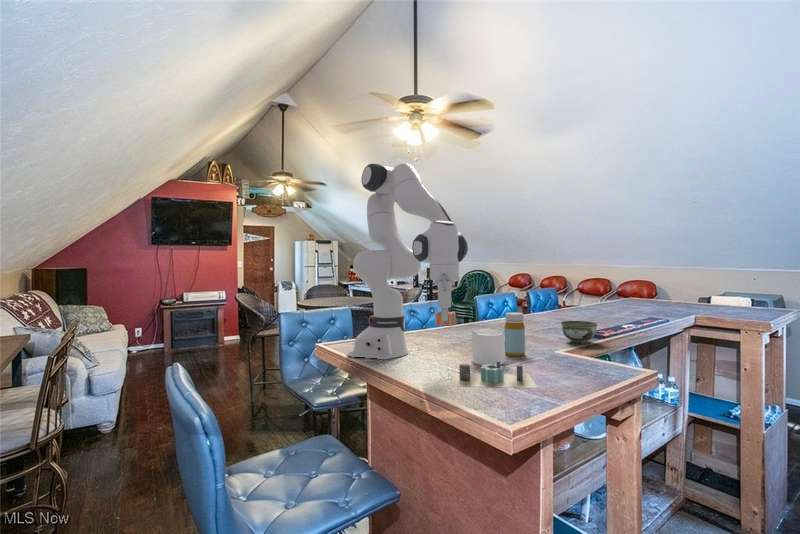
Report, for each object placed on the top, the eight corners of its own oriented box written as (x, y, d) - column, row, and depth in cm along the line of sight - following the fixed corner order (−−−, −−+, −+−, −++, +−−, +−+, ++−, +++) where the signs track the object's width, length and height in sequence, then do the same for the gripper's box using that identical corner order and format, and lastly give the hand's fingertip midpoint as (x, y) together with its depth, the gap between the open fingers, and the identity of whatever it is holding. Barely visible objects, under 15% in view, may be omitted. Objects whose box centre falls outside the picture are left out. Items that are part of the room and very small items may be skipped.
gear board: (452, 390, 104) (452, 371, 103) (452, 377, 115) (451, 359, 115) (538, 392, 101) (537, 372, 101) (528, 378, 113) (528, 360, 113)
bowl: (595, 347, 149) (595, 326, 148) (558, 344, 156) (558, 324, 156) (598, 340, 160) (598, 321, 160) (563, 338, 167) (563, 319, 167)
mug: (464, 359, 135) (464, 329, 135) (492, 357, 137) (491, 327, 137) (480, 370, 122) (479, 336, 122) (510, 368, 124) (509, 334, 124)
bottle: (526, 357, 136) (525, 314, 136) (505, 356, 138) (504, 314, 138) (523, 352, 143) (523, 312, 143) (504, 352, 145) (503, 311, 144)
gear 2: (484, 383, 105) (483, 365, 105) (478, 376, 111) (478, 359, 111) (506, 383, 105) (506, 364, 105) (499, 376, 111) (499, 358, 111)
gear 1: (432, 325, 117) (432, 313, 117) (439, 322, 122) (439, 311, 122) (451, 326, 114) (451, 314, 114) (458, 323, 120) (458, 311, 120)
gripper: (455, 275, 107) (456, 324, 108) (454, 272, 128) (454, 314, 128) (432, 275, 108) (433, 324, 108) (434, 272, 128) (435, 314, 129)
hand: (445, 319), depth 118 cm, fingers closed on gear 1, 6 cm apart
